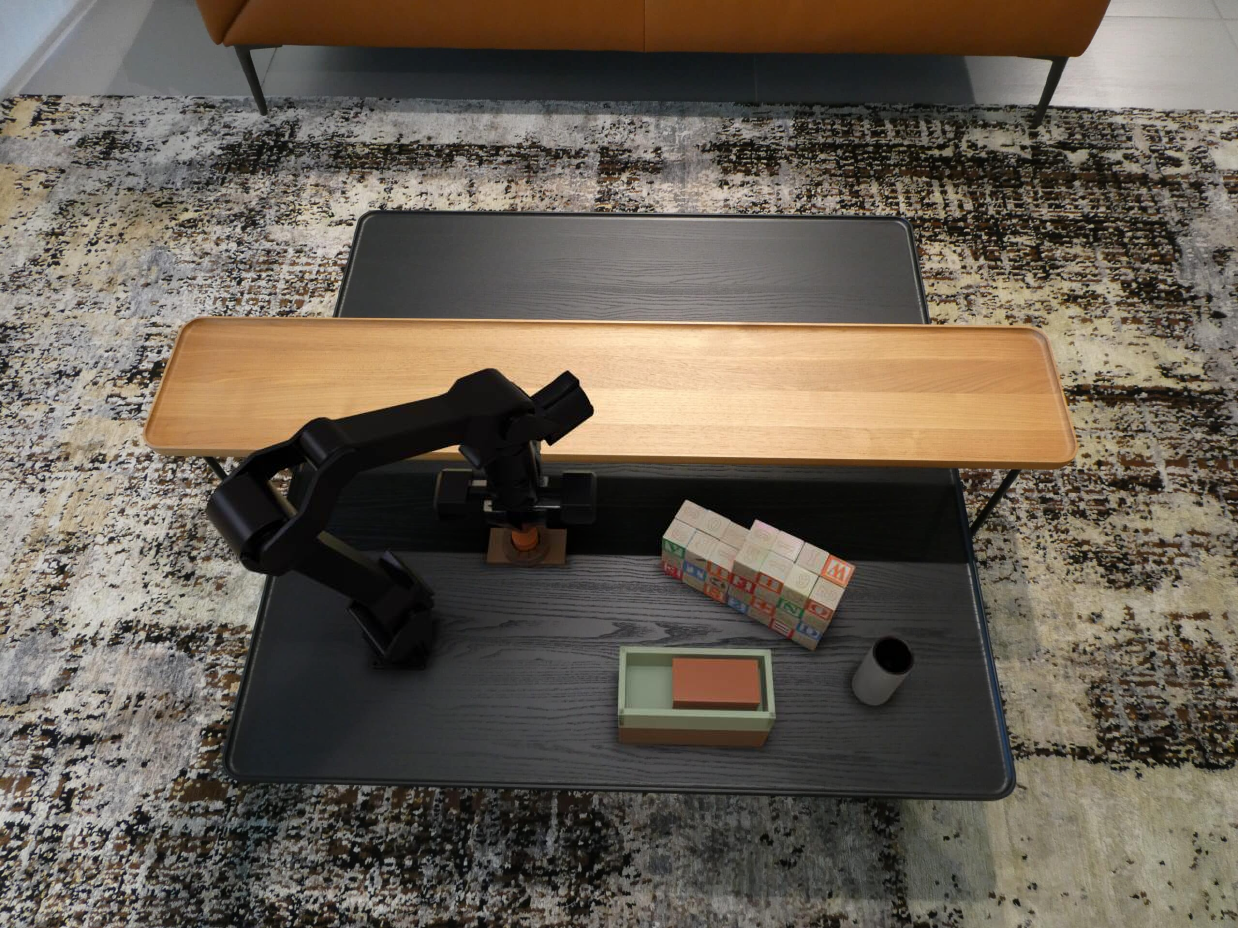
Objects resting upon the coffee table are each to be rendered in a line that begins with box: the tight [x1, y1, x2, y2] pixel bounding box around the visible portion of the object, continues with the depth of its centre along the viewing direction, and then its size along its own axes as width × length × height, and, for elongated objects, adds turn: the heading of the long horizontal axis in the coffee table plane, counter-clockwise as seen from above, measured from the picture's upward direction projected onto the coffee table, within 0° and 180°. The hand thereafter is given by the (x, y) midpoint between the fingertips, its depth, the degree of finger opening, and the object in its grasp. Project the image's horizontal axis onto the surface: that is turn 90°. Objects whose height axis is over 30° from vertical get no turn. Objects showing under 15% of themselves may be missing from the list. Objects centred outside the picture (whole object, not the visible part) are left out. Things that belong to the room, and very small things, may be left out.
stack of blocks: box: [660, 499, 856, 652], centre depth 100 cm, size 21×6×12 cm, turn 59°
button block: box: [486, 524, 568, 567], centre depth 108 cm, size 10×6×2 cm, turn 88°
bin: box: [617, 645, 777, 747], centre depth 93 cm, size 16×7×11 cm, turn 88°
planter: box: [851, 634, 916, 706], centre depth 94 cm, size 4×4×10 cm
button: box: [512, 527, 538, 551], centre depth 107 cm, size 3×3×2 cm
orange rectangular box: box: [671, 658, 760, 711], centre depth 90 cm, size 5×5×9 cm
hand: (524, 530), depth 106 cm, fingers closed
